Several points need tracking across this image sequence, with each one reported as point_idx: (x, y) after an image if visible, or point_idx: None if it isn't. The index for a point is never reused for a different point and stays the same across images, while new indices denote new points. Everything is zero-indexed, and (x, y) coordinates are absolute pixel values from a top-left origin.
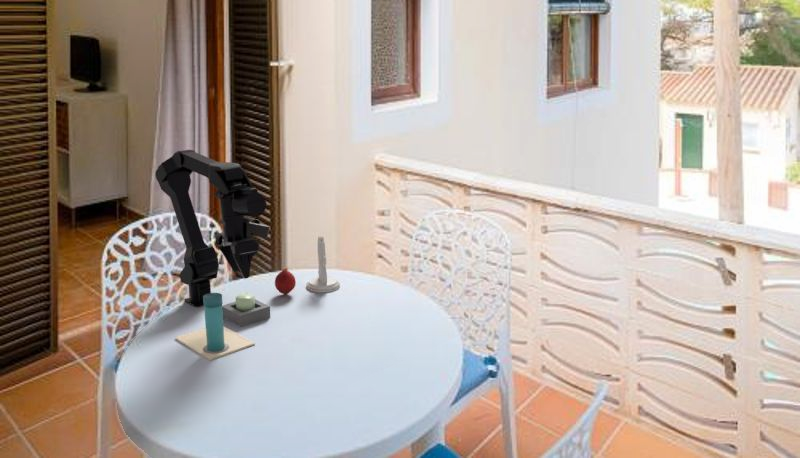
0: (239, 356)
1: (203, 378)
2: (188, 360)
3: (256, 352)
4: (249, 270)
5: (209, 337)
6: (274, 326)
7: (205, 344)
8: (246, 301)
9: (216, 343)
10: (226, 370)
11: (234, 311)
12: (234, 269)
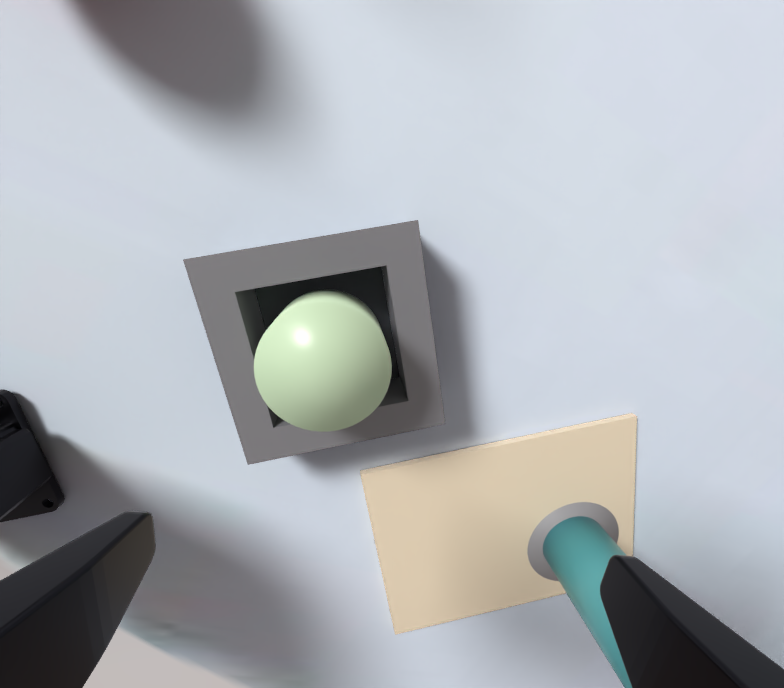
0: (670, 488)
1: (711, 608)
2: (579, 621)
3: (688, 430)
4: (755, 653)
5: None
6: (526, 261)
7: (521, 565)
8: (388, 381)
9: None
10: (720, 547)
11: (372, 429)
12: (133, 573)
